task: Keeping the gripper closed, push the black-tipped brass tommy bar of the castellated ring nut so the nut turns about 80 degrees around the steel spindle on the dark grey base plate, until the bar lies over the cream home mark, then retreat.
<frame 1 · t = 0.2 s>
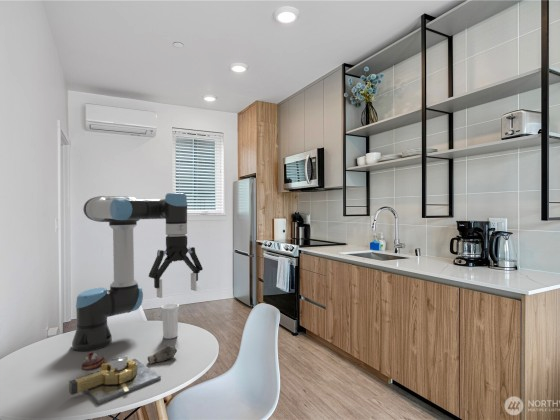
hand: (177, 293, 123), 28 cm above the table, fingers open, 13 cm apart
stone: (163, 361, 130), on the table
base plate: (118, 380, 115), on the table
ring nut: (104, 374, 112), point 4 cm above the table, hinge at 0.0°
pastry: (93, 366, 127), on the table
cup: (170, 337, 154), on the table
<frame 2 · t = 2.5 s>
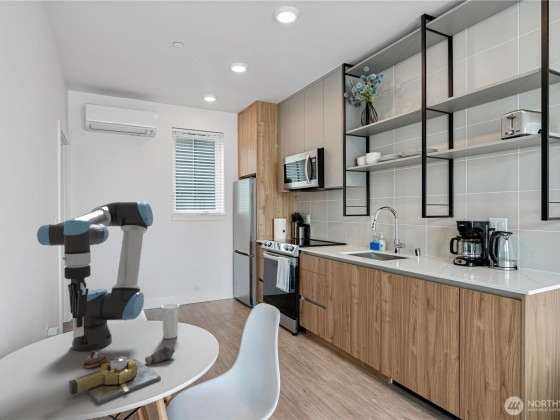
hand: (78, 335, 113), 16 cm above the table, fingers closed
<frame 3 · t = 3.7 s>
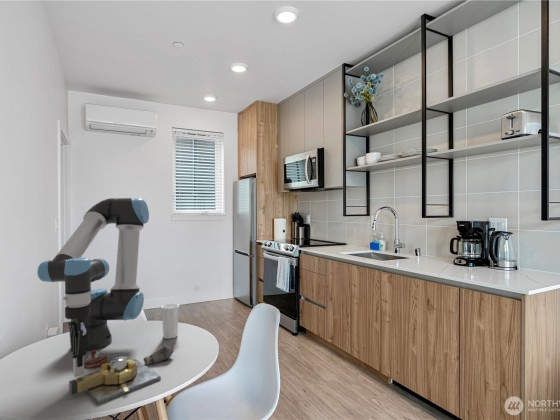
hand: (78, 375, 113), 3 cm above the table, fingers closed
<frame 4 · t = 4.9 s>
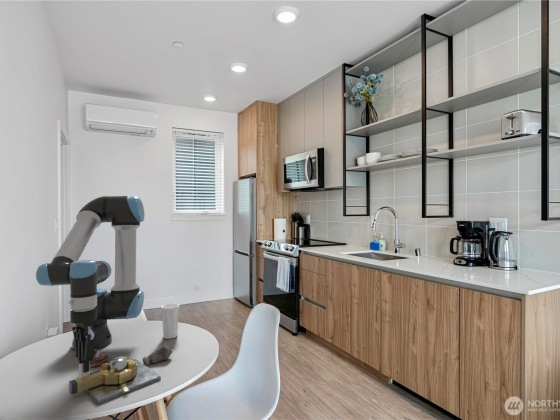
hand: (84, 381, 109), 3 cm above the table, fingers closed
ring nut: (104, 374, 112), point 4 cm above the table, hinge at 0.0°, touching gripper
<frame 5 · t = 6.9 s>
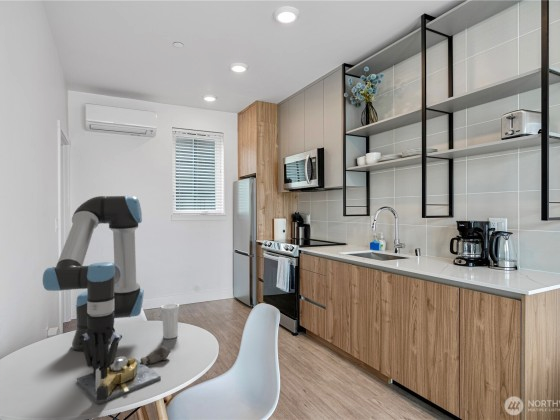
hand: (100, 388, 105), 3 cm above the table, fingers closed
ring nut: (113, 376, 111), point 4 cm above the table, hinge at 49.8°, touching gripper
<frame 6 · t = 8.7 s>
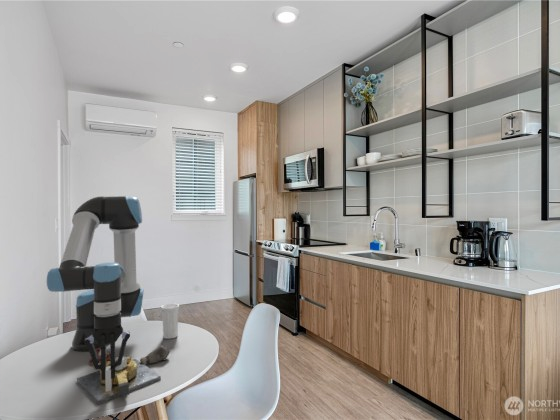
hand: (108, 388, 105), 3 cm above the table, fingers closed
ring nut: (120, 375, 111), point 4 cm above the table, hinge at 74.2°
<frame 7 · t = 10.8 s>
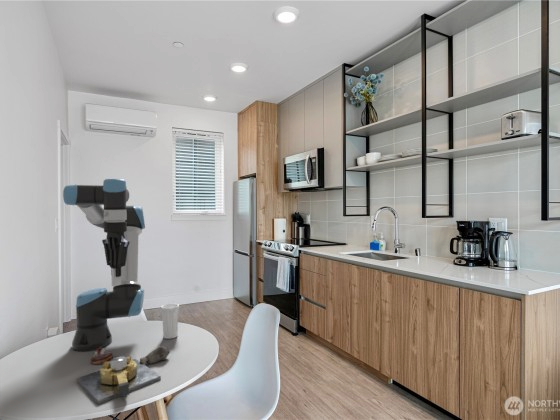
hand: (116, 285, 124), 31 cm above the table, fingers closed
stone: (155, 362, 129), on the table, touching base plate
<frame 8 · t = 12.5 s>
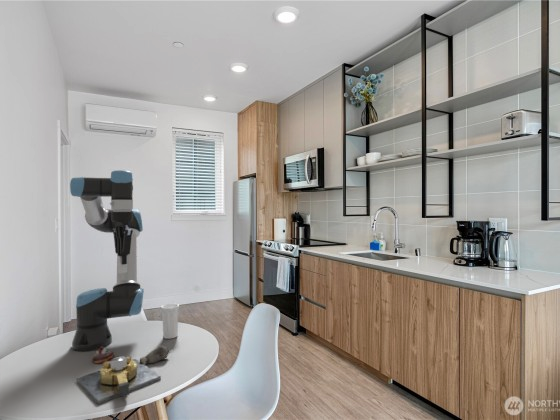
hand: (122, 272, 129), 34 cm above the table, fingers closed
stone: (155, 362, 129), on the table
at the end: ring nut at +74° (first picture: +0°) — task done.
